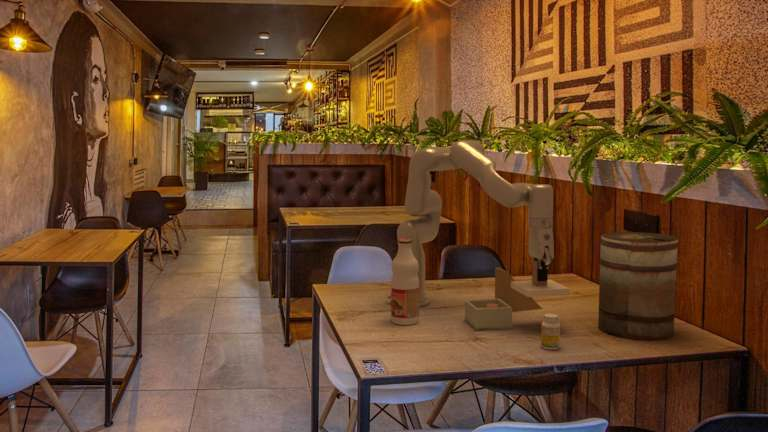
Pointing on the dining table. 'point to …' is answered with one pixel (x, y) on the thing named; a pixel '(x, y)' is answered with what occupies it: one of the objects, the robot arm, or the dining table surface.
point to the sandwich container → (512, 293)
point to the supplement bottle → (550, 332)
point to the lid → (539, 285)
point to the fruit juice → (404, 285)
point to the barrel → (637, 285)
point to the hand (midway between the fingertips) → (539, 279)
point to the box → (488, 314)
